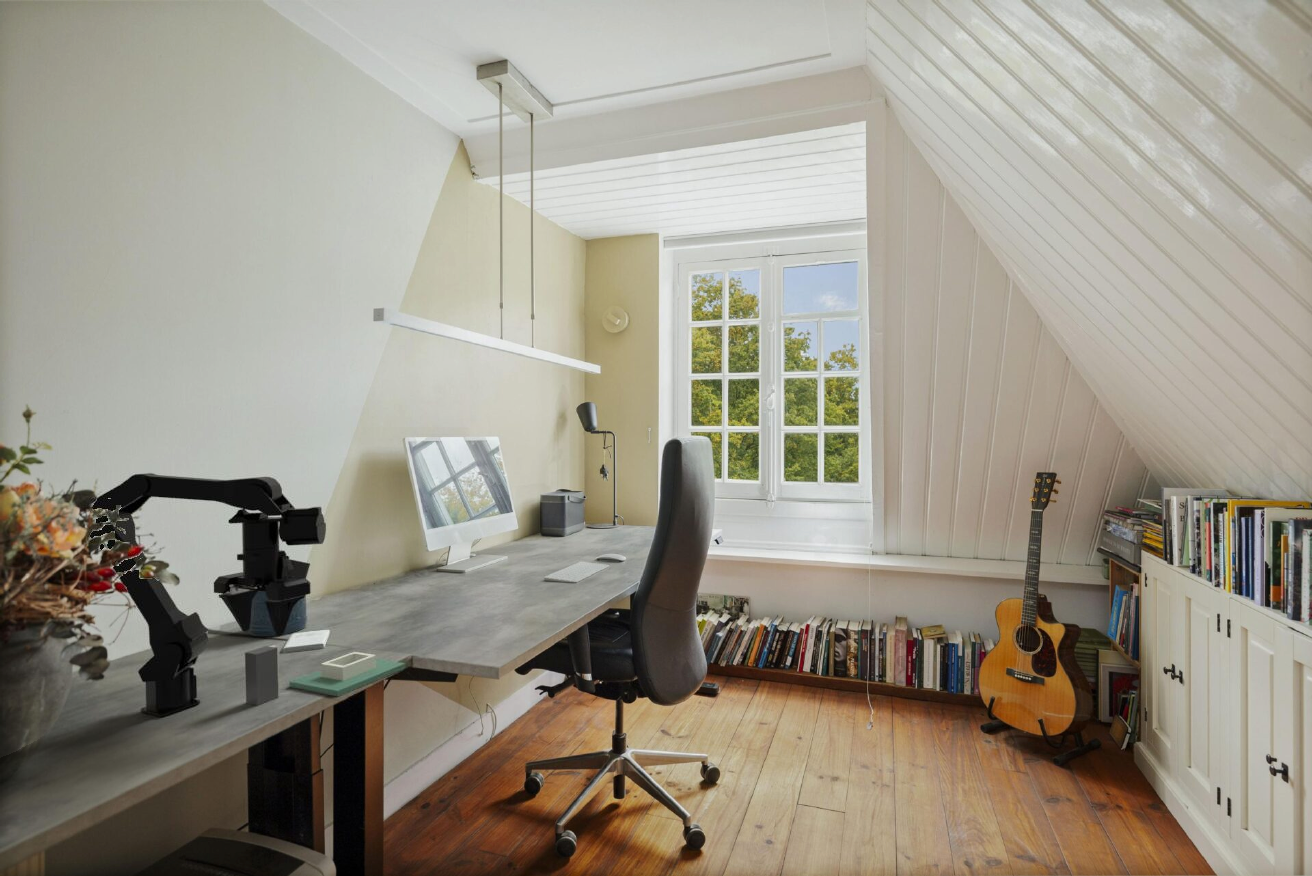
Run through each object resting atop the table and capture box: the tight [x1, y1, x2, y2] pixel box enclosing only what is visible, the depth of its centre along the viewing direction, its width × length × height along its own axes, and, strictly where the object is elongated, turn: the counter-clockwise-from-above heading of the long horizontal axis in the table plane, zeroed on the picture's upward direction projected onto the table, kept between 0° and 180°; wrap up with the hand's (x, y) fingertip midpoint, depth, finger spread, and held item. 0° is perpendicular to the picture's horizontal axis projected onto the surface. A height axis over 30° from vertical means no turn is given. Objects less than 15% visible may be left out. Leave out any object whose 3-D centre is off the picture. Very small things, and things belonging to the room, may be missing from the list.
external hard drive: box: [282, 629, 330, 654], centre depth 156 cm, size 2×8×12 cm
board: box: [289, 651, 406, 697], centre depth 132 cm, size 16×13×4 cm
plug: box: [244, 644, 280, 706], centre depth 121 cm, size 5×3×9 cm, turn 155°
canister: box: [248, 585, 308, 637], centre depth 168 cm, size 13×13×18 cm
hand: (262, 633), depth 122 cm, fingers open, 9 cm apart
